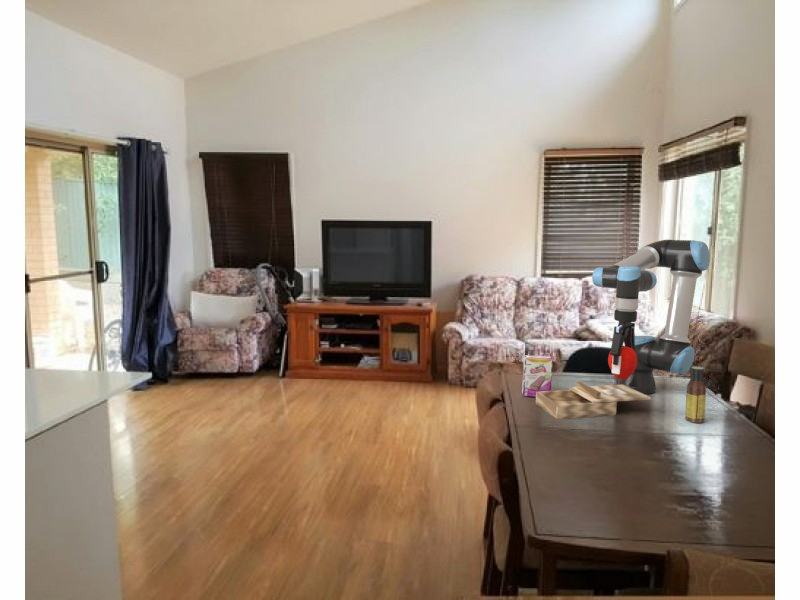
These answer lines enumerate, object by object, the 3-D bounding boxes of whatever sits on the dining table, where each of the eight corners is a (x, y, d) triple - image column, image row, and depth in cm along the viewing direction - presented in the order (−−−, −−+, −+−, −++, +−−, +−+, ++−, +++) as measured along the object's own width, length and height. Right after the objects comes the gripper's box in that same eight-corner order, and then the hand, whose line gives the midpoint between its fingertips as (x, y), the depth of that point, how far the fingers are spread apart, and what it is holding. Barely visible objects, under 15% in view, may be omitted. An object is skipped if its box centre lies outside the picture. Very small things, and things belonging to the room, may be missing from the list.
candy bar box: (522, 397, 232) (524, 357, 230) (521, 393, 237) (523, 354, 235) (551, 398, 231) (553, 359, 229) (549, 395, 236) (551, 356, 234)
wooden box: (590, 400, 230) (591, 388, 229) (615, 415, 213) (616, 402, 212) (535, 404, 224) (536, 391, 223) (557, 418, 208) (557, 405, 207)
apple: (604, 373, 214) (606, 341, 212) (632, 375, 212) (635, 343, 210) (609, 380, 204) (611, 347, 202) (638, 382, 202) (641, 348, 201)
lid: (623, 386, 232) (623, 378, 232) (650, 399, 216) (651, 391, 215) (569, 389, 226) (569, 381, 226) (593, 402, 210) (593, 394, 210)
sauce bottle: (702, 419, 211) (707, 366, 208) (705, 424, 205) (710, 370, 202) (682, 416, 213) (687, 364, 210) (685, 422, 207) (690, 368, 204)
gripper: (627, 305, 215) (622, 363, 218) (603, 311, 199) (598, 374, 202) (647, 307, 210) (642, 367, 214) (624, 314, 194) (619, 378, 197)
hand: (621, 370), depth 208 cm, fingers closed on apple, 10 cm apart
